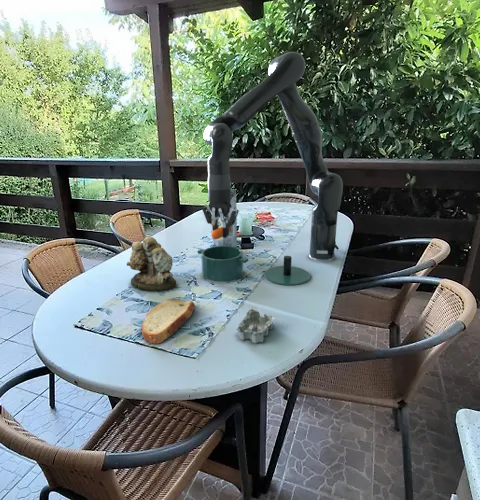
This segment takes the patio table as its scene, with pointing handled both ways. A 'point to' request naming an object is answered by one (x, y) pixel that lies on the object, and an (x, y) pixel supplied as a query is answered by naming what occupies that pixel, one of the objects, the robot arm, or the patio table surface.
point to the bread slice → (166, 319)
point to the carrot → (218, 233)
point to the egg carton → (254, 326)
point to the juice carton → (232, 237)
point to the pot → (222, 263)
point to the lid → (287, 274)
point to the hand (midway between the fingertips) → (220, 236)
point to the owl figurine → (151, 266)
